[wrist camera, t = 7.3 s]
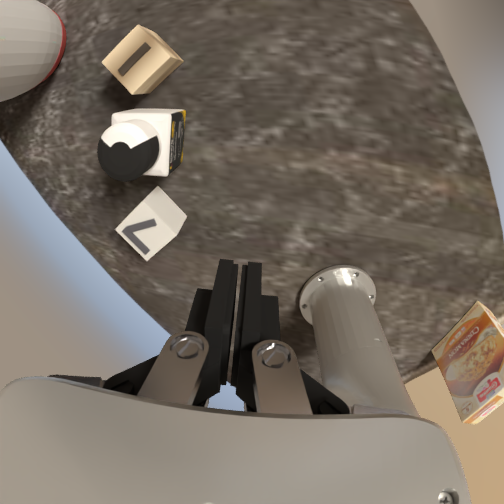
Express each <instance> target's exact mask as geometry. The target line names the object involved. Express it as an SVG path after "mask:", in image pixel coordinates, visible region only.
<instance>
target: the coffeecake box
mask: <svg viewBox="0 0 504 504" xmlns="http://www.w3.org/2000/svg"><path fill="white" fill-rule="evenodd" d="M431 351H432V353H433V355H434V358H435V360H436V362H437V364H438V366H439V369H440V370H441V373H442V375H443V377H444V380H445V382H446V384H447V387H448V389H449V391H450V394H451V396H452V399H453V401H454V403H455V406H456V408H457V411H458V413H459V416H460V419H461V421H462V423H471V424H477V423H479V422H480V421H481V420H482V419H484V418H485V417H486V416H487V415H489V414H490V413H491V412H492V411H494V410H495V409H496V408H497V407H498V406H499V405H501V404H502V403H503V402H504V330H503V328H502V326H501V325H500V323H499V322H498V320H497V319H496V318H495V316H494V315H493V313H492V312H491V311H490V310H489V309H488V308H486V307H485V306H484V305H483V304H481V303H480V302H479V301H476V303H475V304H474V305H473V306H472V307H471V309H470V310H469V311H468V312H467V313H466V314H465V315H464V316H463V318H462V319H461V320H460V321H459V322H458V323H457V324H456V325H455V326H454V327H453V329H452V330H451V331H450V332H449V333H448V334H447V335H446V336H445V337H444V338H443V339H442V340H441V341H440V342H439V343H438V344H437V345H436V346H435V347H434V348H433V349H432V350H431Z"/></svg>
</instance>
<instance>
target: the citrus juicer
mask: <svg viewBox="0 0 504 504" xmlns="http://www.w3.org/2000/svg"><path fill="white" fill-rule="evenodd" d="M65 45H66V30H65V26H64V24H63V22H62V20H61V19H60V17H59V16H58V15H57V14H56V13H55V12H54V11H53V10H51V9H50V8H49V7H47V6H46V5H44V4H42V3H40V2H38V1H36V0H0V102H1V101H5V100H8V99H12V98H14V97H16V96H18V95H21V94H23V93H25V92H27V91H28V90H30V89H32V88H35V87H36V86H37V85H39V84H40V83H41V82H43V81H44V80H45V79H47V78H48V77H49V76H50V75H51V74H52V73H53V71H54V70H55V69H56V67H57V66H58V64H59V62H60V60H61V58H62V56H63V53H64V49H65Z"/></svg>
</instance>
